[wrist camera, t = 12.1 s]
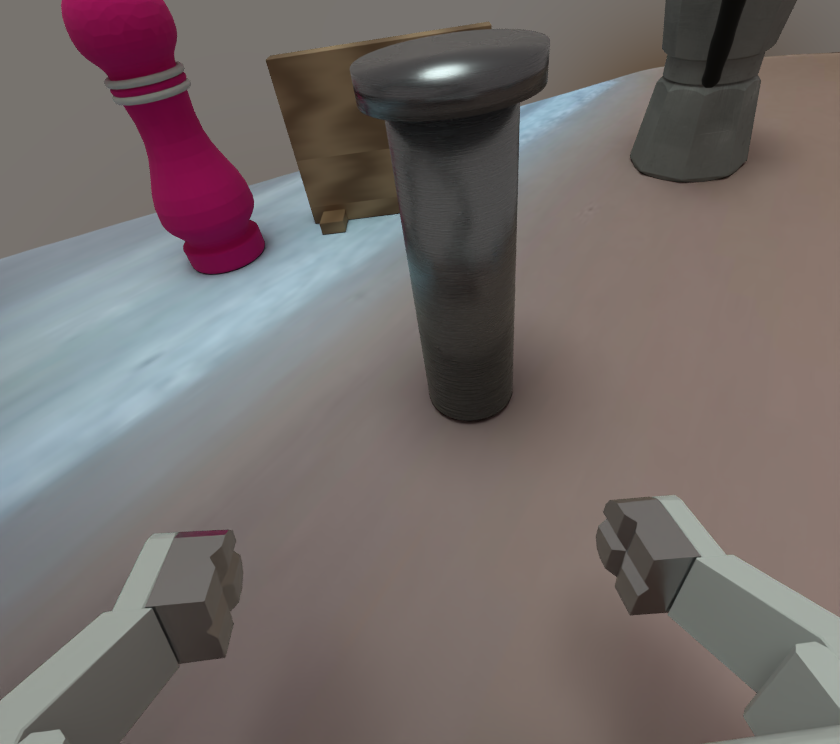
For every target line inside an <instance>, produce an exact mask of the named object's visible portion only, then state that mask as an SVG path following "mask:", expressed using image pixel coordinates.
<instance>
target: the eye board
mask: <svg viewBox="0 0 840 744" xmlns="http://www.w3.org/2000/svg"><path fill="white" fill-rule="evenodd" d="M484 29H491V24H490V23H489V22H484V23H477V24H471V25H465V26H458V27H452V28H446V29H439V30H432V31H426V32H419V33H413V34H407V35H400V36H394V37H388V38H382V39H374V40H369V41H362V42H355V43H349V44H342V45H336V46H330V47H324V48H317V49H311V50H304V51H297V52H291V53H285V54H278V55H272V56H270V57H268V58H267V59H266V63H267V66H268V69H269V73H270V76H271V79H272V83H273V86H274V89H275V92H276V96H277V99H278V102H279V105H280V109H281V112H282V115H283V118H284V122H285V125H286V128H287V132H288V135H289V138H290V141H291V145H292V148H293V151H294V155H295V158H296V161H297V164H298V168H299V171H300V174H301V178H302V181H303V184H304V187H305V191H306V194H307V197H308V200H309V204H310V207H311V210H312V214H313V217H314V220H315V223H316V224H317V223H320V227H321V230H322V233H323V234H331V233H340V232H346V227H347V222H348V220H349V219H357V218H365V217H373V216H381V215H389V214H397V213H400V211H399V204H398V198H397V192H396V186H395V180H394V174H393V168H392V161H391V155H390V149H389V143H388V137H387V131H386V125H385V120H382V119H377V118H373V117H370V116H367V115H365V114H363V113H361V112H360V111H359V110H358V108H357V104H356V99H355V94H354V89H353V84H352V79H351V74H350V66H351V64H352V63H353V62H354V61H355V60H357V59H359V58H360V57H362V56H364V55H366V54H368V53H370V52H373V51H375V50H378V49H381V48H384V47H387V46H390V45H394V44H397V43H401V42H405V41H409V40H414V39H418V38H423V37H428V36H434V35H440V34H446V33H453V32H462V31H471V30H484Z"/></svg>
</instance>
